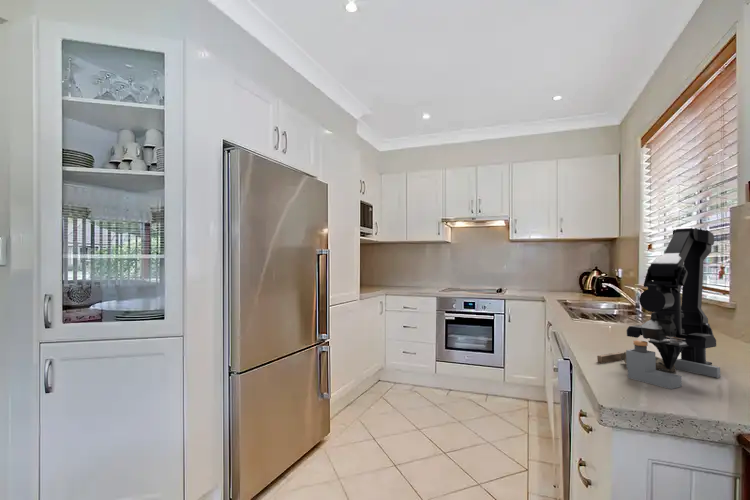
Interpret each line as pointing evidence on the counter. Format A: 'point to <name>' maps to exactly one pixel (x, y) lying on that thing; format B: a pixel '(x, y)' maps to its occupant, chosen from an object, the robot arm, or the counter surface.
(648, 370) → the bay
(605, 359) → the bar
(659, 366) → the rock
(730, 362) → the counter surface
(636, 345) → the plunger
